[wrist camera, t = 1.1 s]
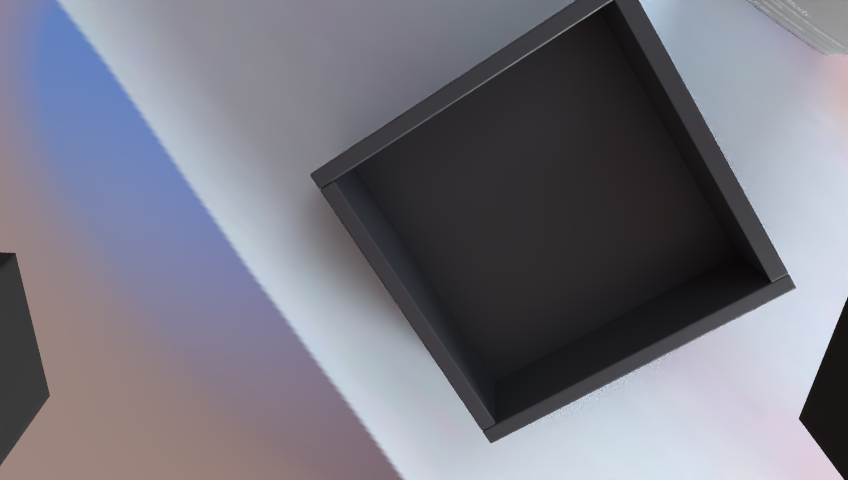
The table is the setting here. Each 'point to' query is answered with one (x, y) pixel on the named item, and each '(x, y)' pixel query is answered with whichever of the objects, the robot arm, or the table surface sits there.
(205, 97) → the table surface
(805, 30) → the cosmetic box
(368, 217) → the box
